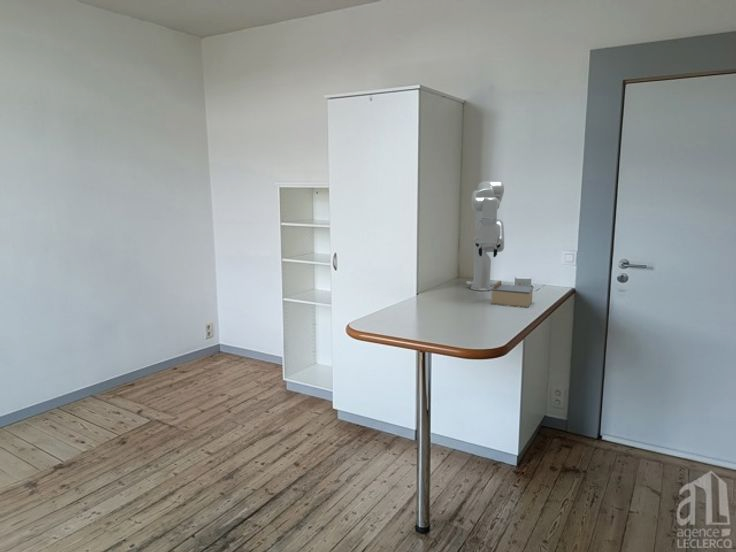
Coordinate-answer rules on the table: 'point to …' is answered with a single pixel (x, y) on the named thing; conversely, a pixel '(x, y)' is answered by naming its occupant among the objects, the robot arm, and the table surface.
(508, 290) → the lid
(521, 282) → the small box
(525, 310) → the table surface
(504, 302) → the tray
